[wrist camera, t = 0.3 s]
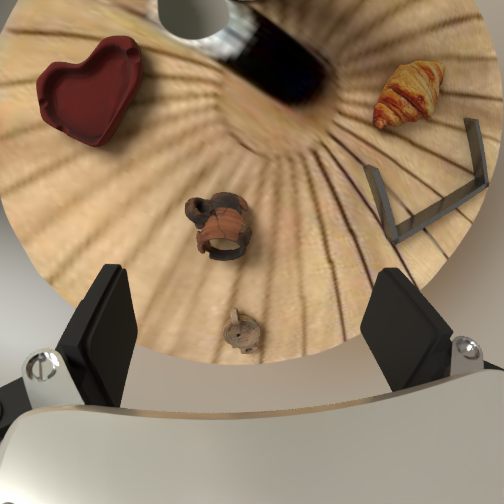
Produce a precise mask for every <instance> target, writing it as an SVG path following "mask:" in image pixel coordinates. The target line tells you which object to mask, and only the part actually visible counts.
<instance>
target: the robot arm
mask: <svg viewBox="0 0 504 504" xmlns="http://www.w3.org/2000/svg"><path fill="white" fill-rule="evenodd" d="M240 1H254V0H240ZM360 330H361V333H362V335H363V337H364V339H365V340H366V342H367V344H368V346H369V348H370V350H371V351H372V353H373V355H374V357H375V359H376V361H377V363H378V365H379V367H380V369H381V370H382V372H383V374H384V376H385V378H386V380H387V382H388V384H389V386H390V388H391V390H392V392H391V393H387V394H383V395H378V396H373V397H368V398H363V399H358V400H353V401H347V402H342V403H335V404H329V405H322V406H314V407H306V408H298V409H288V410H277V411H263V412H243V413H184V412H182V413H181V412H164V411H148V410H136V409H127V408H120V404H121V400H122V395H123V390H124V386H125V381H126V377H127V374H128V369H129V365H130V361H131V358H132V354H133V350H134V346H135V342H136V339H137V334H138V329H137V323H136V319H135V314H134V309H133V304H132V299H131V293H130V288H129V282H128V276H127V271H126V269H122V267H121V265H120V264H105V265H104V266H103V267H102V269H101V271H100V272H99V274H98V275H97V277H96V279H95V280H94V282H93V284H92V285H91V287H90V289H89V291H88V292H87V294H86V296H85V297H84V299H83V300H82V301H81V302H80V303H79V305H78V307H77V309H76V310H75V312H74V314H73V316H72V318H71V319H70V321H69V323H68V325H67V327H66V329H65V331H64V333H63V335H62V337H61V339H60V341H59V343H58V345H57V347H56V349H55V350H52V349H40V350H37V351H35V352H33V353H31V354H30V355H29V356H28V357H27V358H26V360H25V361H24V363H23V366H22V377H21V378H19V379H17V380H15V381H13V382H11V383H9V384H7V385H5V386H3V387H1V388H0V504H504V369H502V368H500V367H498V366H495V365H493V364H491V363H489V362H486V361H484V360H483V352H482V350H481V348H480V346H479V345H478V344H477V343H476V342H475V341H474V340H472V339H470V338H469V337H465V336H458V337H455V338H454V339H453V341H452V342H451V340H450V337H451V335H452V334H453V330H452V329H451V328H450V327H449V325H448V324H447V323H446V322H445V321H444V320H443V318H442V317H441V316H440V315H439V313H438V312H437V311H436V310H435V309H434V307H433V306H432V305H431V304H430V303H429V302H428V300H427V299H426V298H425V297H424V296H423V295H422V294H421V293H420V291H419V290H418V289H417V288H416V287H415V286H414V285H413V284H412V283H411V281H410V280H409V279H408V278H407V277H406V276H405V275H404V274H403V273H402V272H401V271H400V270H399V269H398V268H383V270H382V271H381V272H379V273H378V276H377V279H376V282H375V285H374V288H373V291H372V294H371V297H370V300H369V303H368V306H367V309H366V311H365V314H364V317H363V320H362V322H361V326H360Z"/></svg>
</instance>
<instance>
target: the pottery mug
mask: <svg viewBox="0 0 504 504" xmlns="http://www.w3.org/2000/svg"><path fill="white" fill-rule="evenodd" d="M240 207H241V208H242V209H243V210H245V211H248V207H247V204H246V201H245V200H244V199H243V198H242V197H240V196H238V195H236V194H232V193H227V192H221V193H217V194H214V195H213V196H212V198H211V200H205V199H202V198H198V197H196V198H191V199H189V200H188V202H186V203H185V213H186V216H187V217H188V218H189V219H190V220H191V221H192V222H194V223H195V226H196V228H197V229H201V228H202V230H201V232H200V231H197V237H196V239H197V243H198V245H197V247H198V250H199V251H200V253H202V254H203V253H205V251H207V252H209V253H210V255H209V258H211V259H214V260H220V261H227V260H234V259H237V258H239V257H241V256H242V255H243V254H244V253H245V250H246V247H247V245H248V243H249V240H250V236H251V234H252V231H251V228H248V229H247V231H245V232H243V233H239V232H240V231H241V229H242V228H243V226H244V224H245V219H244V217H243V216H242V215H241V209H240ZM197 209H198V210H197ZM213 210H214V211H215V213H216V215H211V214H210V213H211V212H212V211H213ZM216 238H225V239H229V240H232V241H235V242H237V243H238V244H239V245H240V248H237V249H235V250H219V249H216V248H214V247H211V246H210V243H209V240H211V239H216Z"/></svg>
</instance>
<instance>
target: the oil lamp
mask: <svg viewBox="0 0 504 504" xmlns="http://www.w3.org/2000/svg"><path fill="white" fill-rule="evenodd" d="M230 315H231V318H230V319H229V320H228V321H227V322H226V323H225V324H224V326H223V330H222V335H223V338H224V340H225V341H226V342H227V343H229V344H230V345H232V348H236V347H237V348H240V350H241V353H242V354H251V353H253V352H254V351H256V350H257V349H258V347H257V345H256V342H259V336H260V328H259V326H258V324H257V323H256V322H255V320H254V319H252V318H251V317H248V316H244V315H239V312H238V309H237V308H231V309H230Z"/></svg>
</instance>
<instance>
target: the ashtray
mask: <svg viewBox="0 0 504 504" xmlns="http://www.w3.org/2000/svg"><path fill="white" fill-rule="evenodd" d="M142 78H143V62H142V56H141V52H140V49H139V47H138V45H137V43H136V42H135V41H134V39H132V38H131V37H128V36H111V37H107V38H105V39H103V40H102V41H101V42H100V43H99V45H98V46H97V47H96V48H95V50H94V51H93V52H92V54H91V55H90V56H89V57H88V58H87V59H86V60H85V61H84V62H82V63H80V64H71V63H67V62H53V63H52V64H50V65H49V66H48V68H47V69H46V70H45V71H44V72H43V73H42V74H41V75H40V77H39V78H38V80H37V83H36V89H37V96H38V101H39V106H40V113H41V117H42V119H43V120H44V121H45V122H46V123H47V124H49V125H50V126H52V127H54V128H56V129H57V130H60V131H62V132H64V133H66V134H67V135H68V136H70V137H72V138H74V139H76V140H78V141H80V142H83V143H85V144H87V145H90V146H93V147H100V146H103V145H104V144H106V143H107V142H108V141H109V139H110V138H111V137H112V135H113V134H114V132H115V130H116V128H117V127H118V125H119V123H120V121H121V120H122V118H123V116H124V114H125V112H126V110H127V109H128V107H129V105H130V104H131V102H132V100H133V98H134V97H135V95H136V93H137V92H138V90H139V87H140V85H141V82H142Z"/></svg>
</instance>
